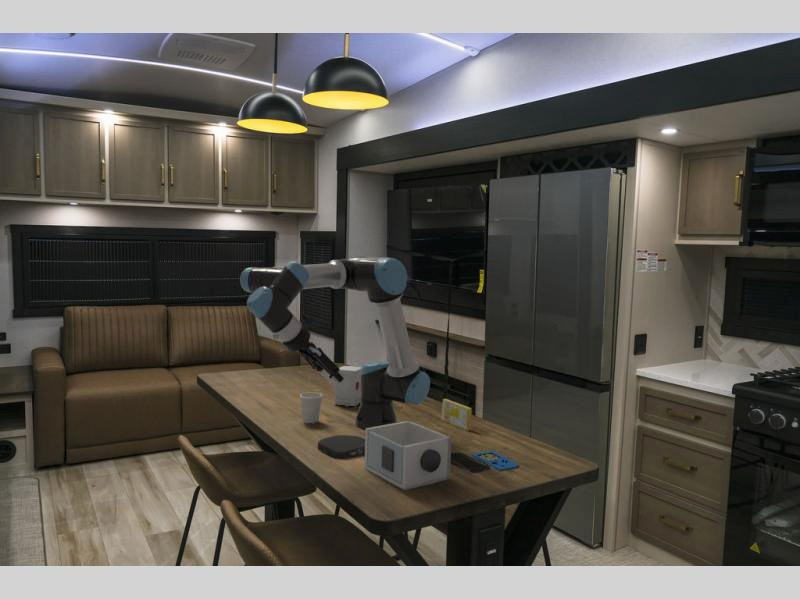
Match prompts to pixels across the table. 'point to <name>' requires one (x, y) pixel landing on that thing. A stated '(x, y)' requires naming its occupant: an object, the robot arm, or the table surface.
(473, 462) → the phone
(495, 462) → the handheld gaming device
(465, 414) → the candy box
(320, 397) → the dixie cup
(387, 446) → the side door
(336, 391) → the supplement box
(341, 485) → the table surface
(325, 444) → the media streaming box
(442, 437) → the open box
